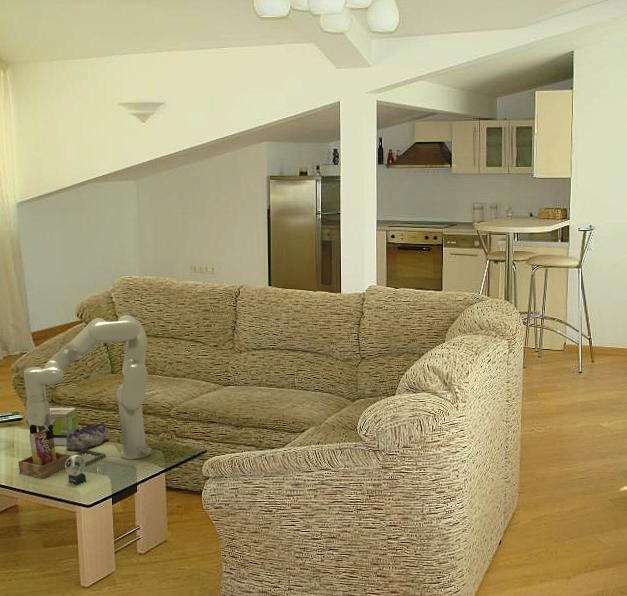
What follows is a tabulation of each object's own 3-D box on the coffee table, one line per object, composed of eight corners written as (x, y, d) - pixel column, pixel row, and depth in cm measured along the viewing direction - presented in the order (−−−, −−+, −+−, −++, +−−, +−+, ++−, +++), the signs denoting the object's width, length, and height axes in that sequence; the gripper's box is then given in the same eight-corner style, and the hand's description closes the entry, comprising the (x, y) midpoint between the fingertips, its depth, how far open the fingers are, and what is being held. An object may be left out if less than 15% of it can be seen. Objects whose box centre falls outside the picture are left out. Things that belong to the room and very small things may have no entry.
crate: (71, 466, 391) (69, 454, 390) (44, 478, 379) (42, 467, 378) (47, 461, 399) (45, 449, 398) (19, 473, 387) (18, 461, 386)
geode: (97, 436, 427) (97, 415, 425) (114, 443, 421) (114, 422, 418) (60, 448, 412) (60, 427, 409) (77, 456, 405) (77, 434, 402)
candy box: (51, 462, 394) (47, 428, 391) (57, 464, 391) (53, 429, 388) (33, 469, 387) (28, 434, 384) (39, 471, 384) (34, 436, 381)
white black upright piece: (64, 483, 372) (61, 457, 370) (82, 477, 378) (79, 451, 376) (72, 487, 368) (69, 460, 366) (90, 480, 374) (87, 454, 372)
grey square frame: (105, 457, 399) (105, 453, 399) (83, 467, 389) (83, 463, 388) (85, 452, 406) (84, 449, 406) (62, 462, 396) (62, 459, 395)
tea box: (80, 438, 426) (77, 406, 423) (70, 446, 416) (67, 414, 413) (50, 437, 429) (46, 406, 426) (39, 445, 419) (35, 413, 416)
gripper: (15, 397, 384) (20, 437, 388) (44, 402, 375) (49, 443, 378) (29, 392, 391) (35, 431, 394) (58, 397, 381) (63, 437, 385)
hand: (42, 437), depth 386 cm, fingers open, 9 cm apart
